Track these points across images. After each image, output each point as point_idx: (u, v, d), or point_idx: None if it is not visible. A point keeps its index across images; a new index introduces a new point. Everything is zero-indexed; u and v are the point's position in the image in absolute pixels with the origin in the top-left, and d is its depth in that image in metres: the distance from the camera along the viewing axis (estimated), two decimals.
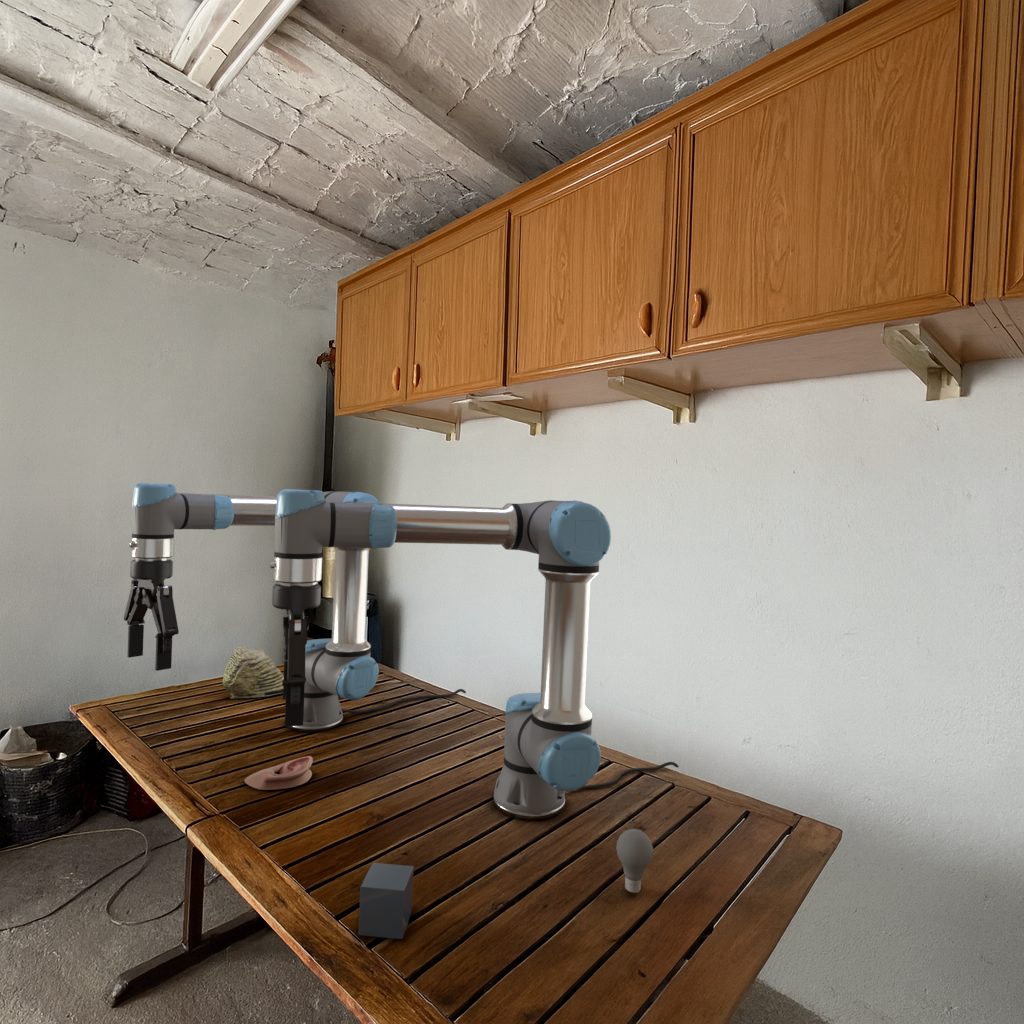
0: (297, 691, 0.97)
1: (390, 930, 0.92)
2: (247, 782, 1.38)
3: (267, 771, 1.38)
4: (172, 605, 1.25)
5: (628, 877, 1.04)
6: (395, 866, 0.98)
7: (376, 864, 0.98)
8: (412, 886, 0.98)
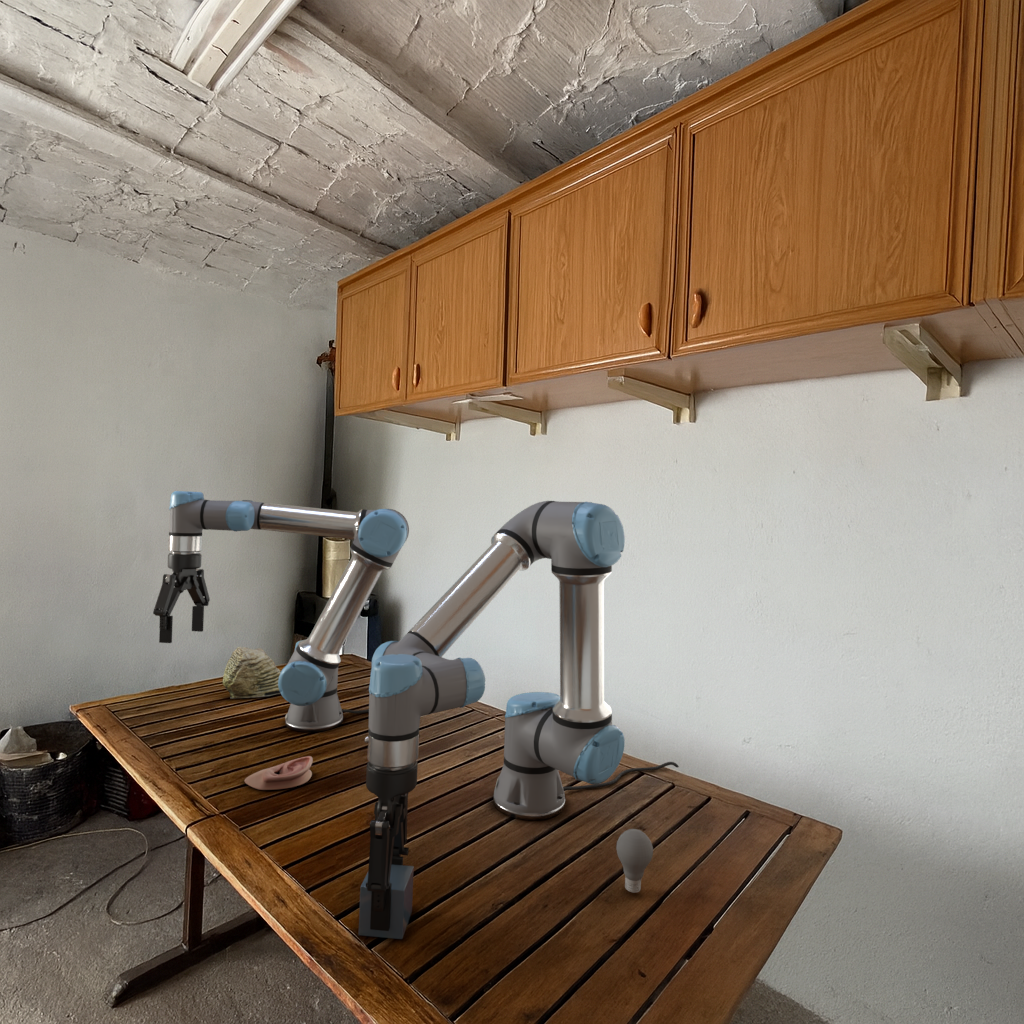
0: (380, 896, 0.90)
1: (390, 930, 0.92)
2: (247, 782, 1.38)
3: (267, 771, 1.38)
4: (168, 590, 1.51)
5: (628, 877, 1.04)
6: (395, 866, 0.98)
7: None
8: (412, 886, 0.98)
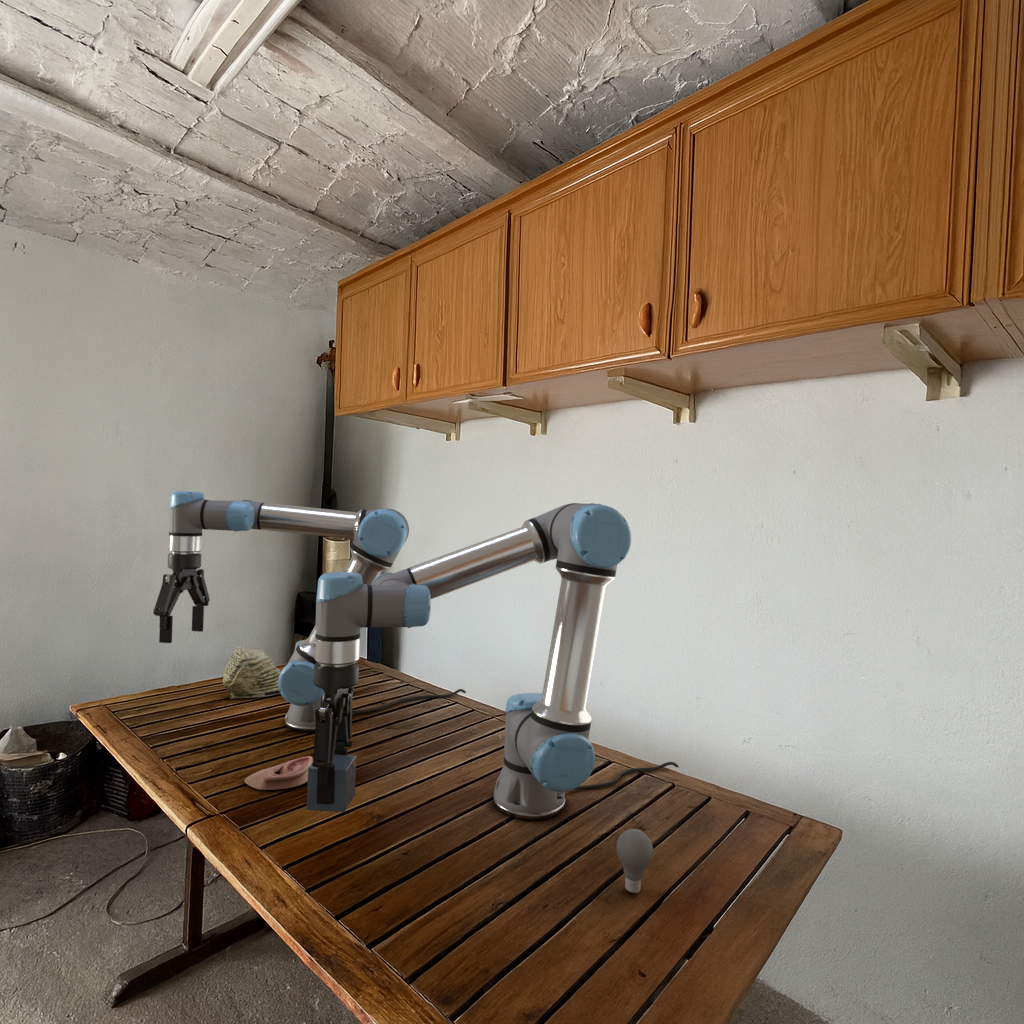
0: (325, 773, 1.05)
1: (334, 804, 1.07)
2: (247, 782, 1.38)
3: (267, 771, 1.38)
4: (168, 590, 1.51)
5: (628, 877, 1.04)
6: (340, 755, 1.13)
7: None
8: (355, 773, 1.13)
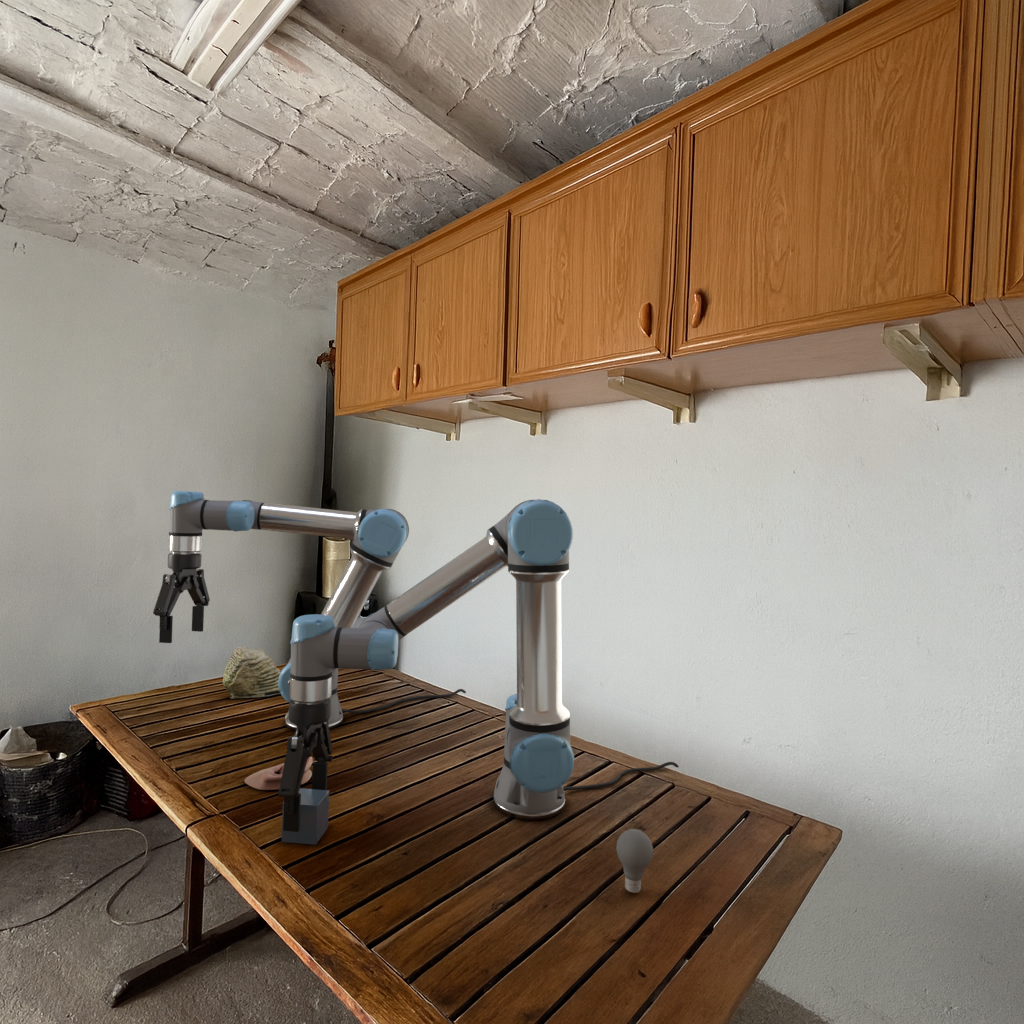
0: (290, 802, 1.11)
1: (307, 837, 1.16)
2: (247, 782, 1.38)
3: (267, 771, 1.38)
4: (168, 590, 1.51)
5: (628, 877, 1.04)
6: (314, 790, 1.21)
7: None
8: (328, 806, 1.21)
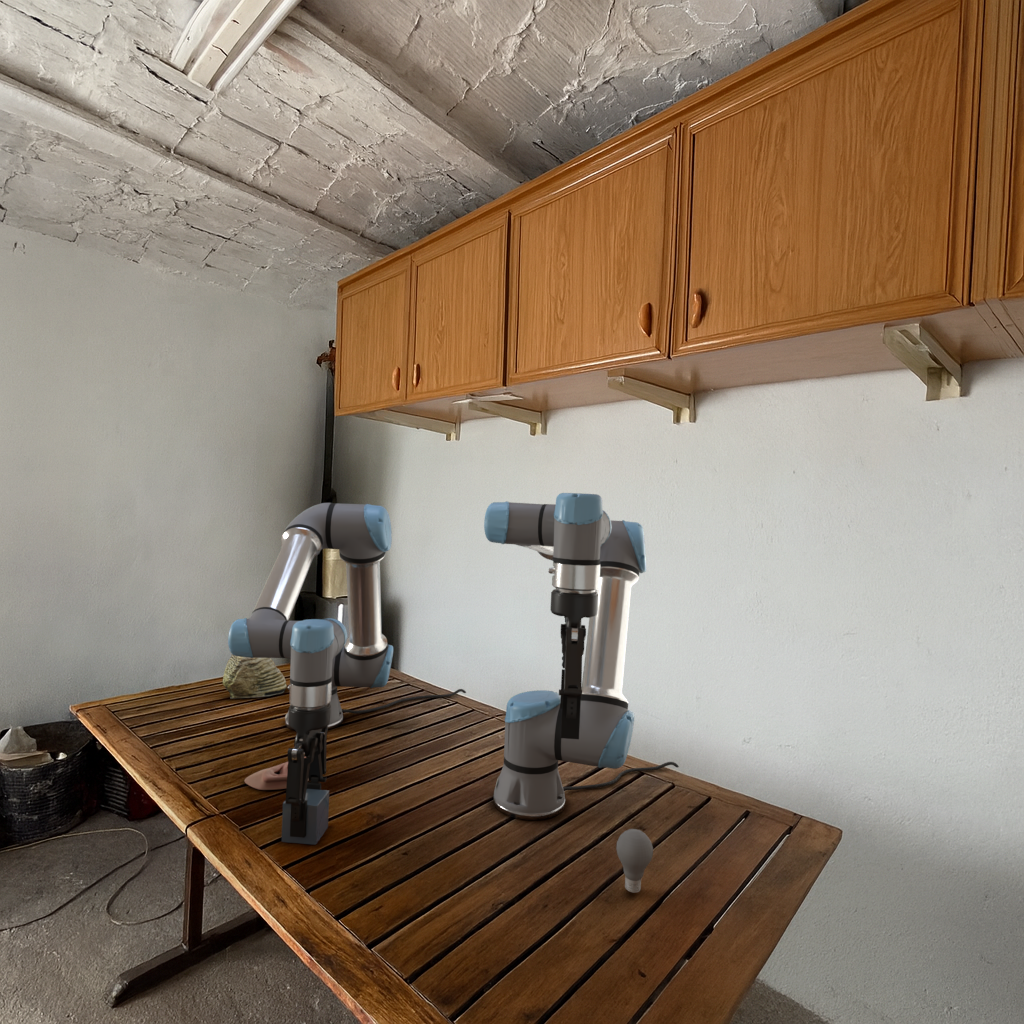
0: (573, 703, 0.93)
1: (307, 837, 1.16)
2: (247, 782, 1.38)
3: (267, 771, 1.38)
4: (299, 772, 1.12)
5: (628, 877, 1.04)
6: (314, 790, 1.21)
7: None
8: (328, 806, 1.21)
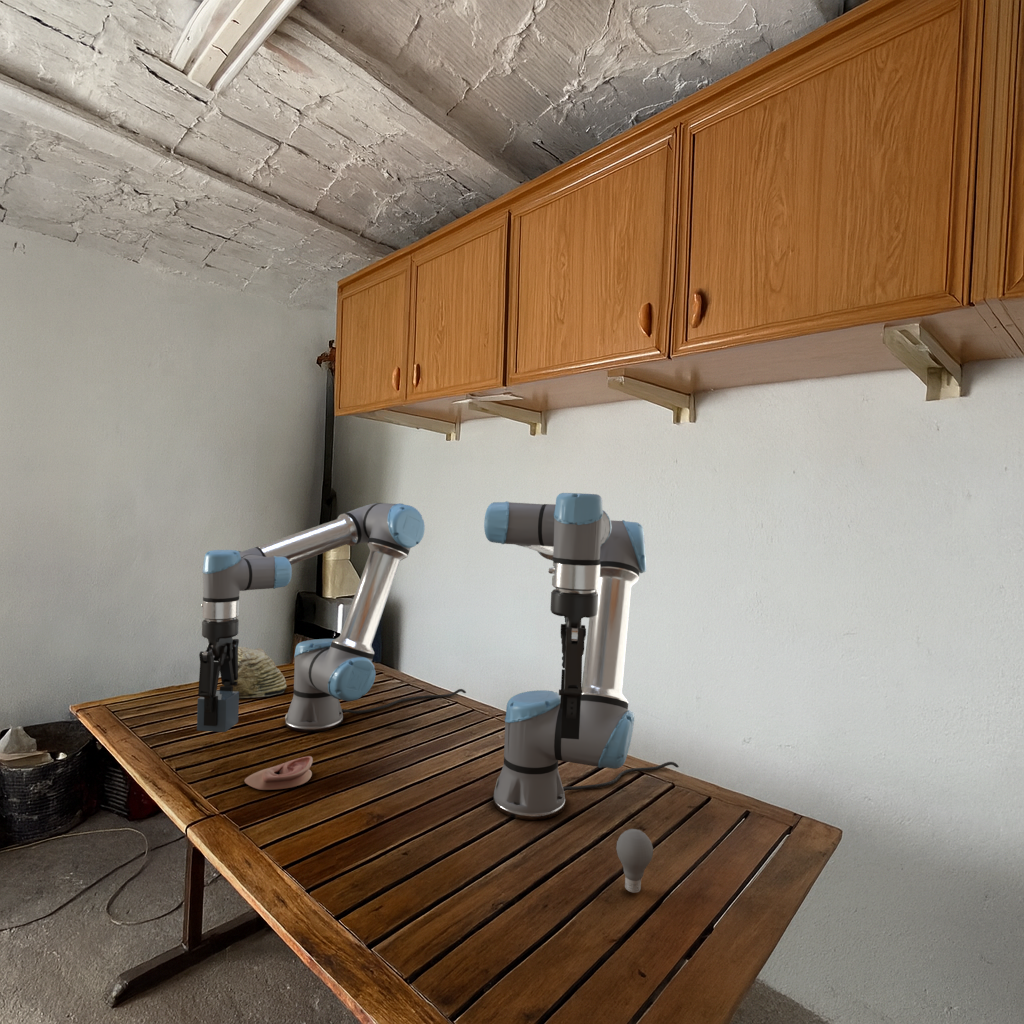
0: (573, 703, 0.93)
1: (218, 726, 1.41)
2: (247, 782, 1.38)
3: (267, 771, 1.38)
4: (209, 670, 1.37)
5: (628, 877, 1.04)
6: (226, 691, 1.46)
7: None
8: (238, 704, 1.46)
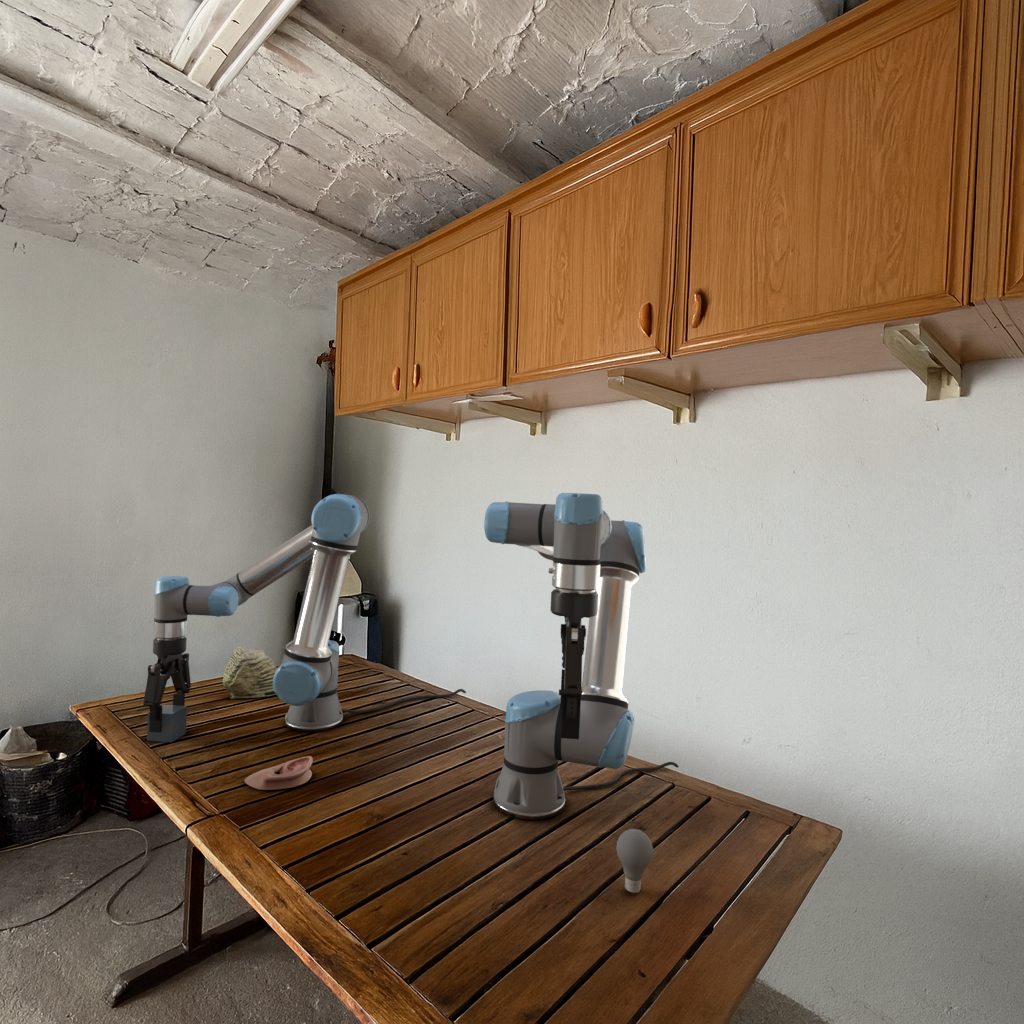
0: (573, 703, 0.93)
1: (165, 737, 1.59)
2: (247, 782, 1.38)
3: (267, 771, 1.38)
4: (155, 682, 1.55)
5: (628, 877, 1.04)
6: (175, 706, 1.64)
7: (164, 705, 1.65)
8: (185, 717, 1.64)
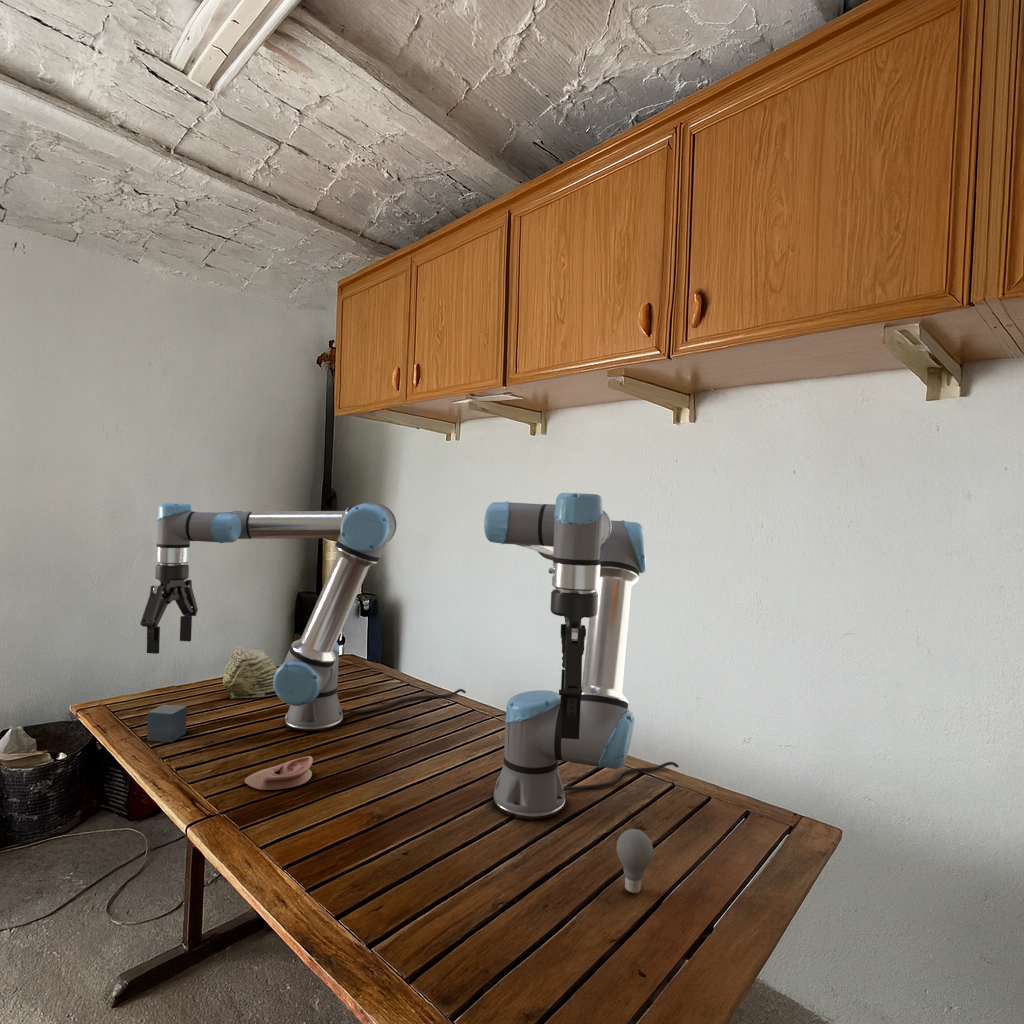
0: (573, 703, 0.93)
1: (165, 737, 1.59)
2: (247, 782, 1.38)
3: (267, 771, 1.38)
4: (155, 602, 1.53)
5: (628, 877, 1.04)
6: (175, 706, 1.64)
7: (164, 705, 1.65)
8: (185, 717, 1.64)
